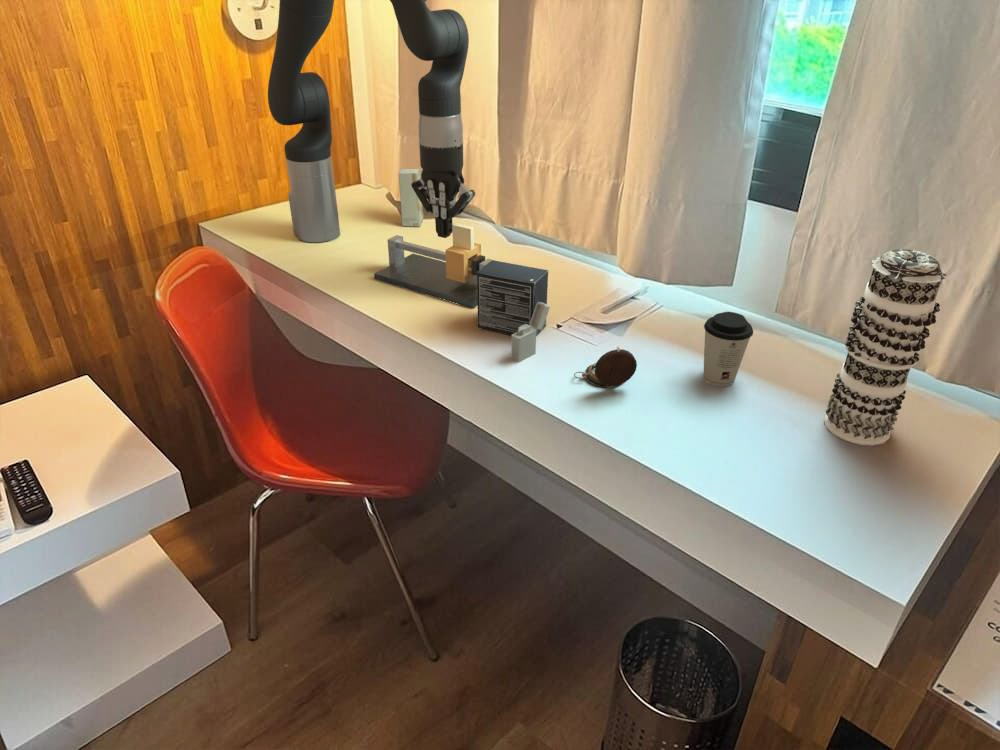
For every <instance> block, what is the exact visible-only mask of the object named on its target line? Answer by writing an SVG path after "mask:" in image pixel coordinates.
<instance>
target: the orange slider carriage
mask: <svg viewBox="0 0 1000 750" xmlns="http://www.w3.org/2000/svg"><path fill="white" fill-rule="evenodd" d="M445 252H446V261H445V262H446V278H448V279H451V280H455V281H458V282H462V283H465V282H467V281H469V280H470V279H472V278H474V277H475V276H476V275H472V274H471V268H469V267H468V259H469V258H470V259H474V258H475V257H477V256H479V255H482V244H480V243H476V242H475V228H474V227H472V226H469V225H464V224H461V223H452V245H451V246H450V247H447V248H446V249H445Z"/></svg>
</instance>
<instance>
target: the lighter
mask: <svg viewBox="0 0 1000 750" xmlns="http://www.w3.org/2000/svg"><path fill="white" fill-rule="evenodd" d="M550 308H551V306H550V305H549V304H548V303H547V304H545V303H541V302H537V304H536V307H535V310H534V313H533V316H532V318H531V321H530V324H529V325H527V324H525V325H522V326H520V327H518V332H516V333H514V334H512V336H511V348H510V349H511V351H510V353H511V356H510V358H511V360H512V361H514V362H516V363H520V362H523V361H525V360H526V359H527V360H528V358H531V357H532V356H534V355H536V351H537V350H536V349H537V336H536V330H542V329H543V326H544V323H545V320H546V321H547V318H548V317H547V316H548V314H549V311H550ZM543 330H544V329H543ZM543 330H542V331H543Z"/></svg>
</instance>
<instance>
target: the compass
mask: <svg viewBox="0 0 1000 750" xmlns="http://www.w3.org/2000/svg"><path fill="white" fill-rule="evenodd" d="M637 366H638V363H637V359H636V358H635V356H634V354H633V353H631V351H629V350H626V349H622V348H621V349H620V347H619V346H616V349H613V350H609V351H607V352H605V353H604V354H603V355H601V356H600V357H599V358H598V360H597V361H596V362H595V363H593V364H590V365H589V366H587V367H586V369H585V372H583V371H575V372H574V374H573V376H574V377H575V379H579V380H580V379H581V380H582V379H585V378H586V380H587V381H588V382H589V383H590V384H593V386H594V385H595V386H597V387H602V388H614V387H618V386H620V385H622V384H624V383H626V382H627V381H629V380H630V379H631V378H633V376H634V374H635V372H636V371H637ZM578 373H581V376H582V377H577V375H576V374H578Z"/></svg>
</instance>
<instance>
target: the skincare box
mask: <svg viewBox="0 0 1000 750" xmlns="http://www.w3.org/2000/svg"><path fill="white" fill-rule="evenodd" d="M419 179H420V169H401V168H400V170H399V171H398V183H399V184H398V185H399V196H400V199H399V200H400V210H401V211H400V212H401V213H400V215H401V226H402V227H421V225H422V223H423V221H424V206H423V205H422V203H421V201H420V200H419V198H418V196H417V195H416V193H415V191H414V190H413V188H412V186H411V184H412V183H413V182H415V181H418V180H419Z"/></svg>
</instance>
